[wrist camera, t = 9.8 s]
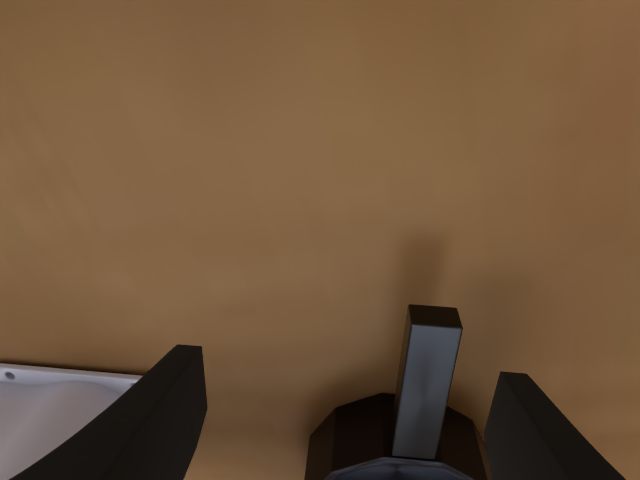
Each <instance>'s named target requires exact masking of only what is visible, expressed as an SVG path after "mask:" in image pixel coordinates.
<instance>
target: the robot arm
mask: <svg viewBox="0 0 640 480" xmlns="http://www.w3.org/2000/svg"><path fill="white" fill-rule="evenodd" d="M206 412H207V397H206V387H205V376H204V365H203V354H202V346H190V345H176V346H175V347H174V348H173V349H172V350H171V351H169V352H168V353H167V354H166V355H165V356H164V357H163V358H162V359H161V360H160V361H159V362H158V363H157V364H155V365H154V366H153V367H152V368H151V369H150V370H149V371H148V372H147V373H146V374H145V375H144V376H140V375H128V374H117V373H106V372H94V371H83V370H72V369H60V368H49V367H38V366H26V365H15V364H3V363H0V480H183V479H184V477H185V474H186V472H187V469H188V467H189V464H190V462H191V460H192V457H193V455H194V452H195V450H196V447H197V444H198V440H199V437H200V433H201V430H202V426H203V423H204V419H205V415H206ZM484 437H485V443H486V450H487V456H488V461H489V467H490V472H491V477H492V480H626V479H625V478H624V477H623V476H622V475H621V474H620V473H619V472H618V471H617V470H616V469H614V468H613V467H612V466H611V465H610V464H609V463H608V462H607V461H606V460H605V459H604V457H603V456H602V455H601V454H600V453H599V452H598V451H597V450H596V449H595V448H594V447H593V446H592V445H591V444H590V443H589V442H588V441H587V440H586V439H585V438H584V437H583V436H582V435H581V433H580V432H579V431H578V430H577V429H576V428H575V427H574V426H573V425H572V424H571V423H570V421H569V420H568V419H567V418H566V417H565V416H564V415H563V414H562V413H561V411H560V410H559V409H558V408H557V407H556V406H555V405H554V404H553V403H552V401H551V400H550V399H549V398H548V397H547V396H546V395H545V393H544V392H543V391H542V390H541V389H540V388H539V387H538V386H537V384H536V383H535V382H534V381H533V380H532V379H531V378H530V377H529V376H528V375H527V374H524V373H512V372H500V375H499V379H498V383H497V386H496V390H495V394H494V397H493V401H492V405H491V409H490V412H489V416H488V420H487V424H486V427H485V431H484Z"/></svg>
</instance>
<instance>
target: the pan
mask: <svg viewBox="0 0 640 480" xmlns="http://www.w3.org/2000/svg"><path fill="white" fill-rule="evenodd" d="M462 330H463V327H462V324H461V320H460V317H459V314H458V310H457V308H452V307H439V306H426V305H413V304H409V305H408V311H407V317H406V324H405V331H404V338H403V345H402V352H401V359H400V365H399V372H398V379H397V386H396V393H395V394H383V393H380V394H377V395H374V396H371V397H368V398H365V399H362V400H359V401H356V402H352V403H349V404H346V405H343V406H340V407H337V408H335V409H334V410H333V411H332V413H331V414H330V415H329V416H328V417H327V418H326V419H325V420H324V421H323V422H322V423H321V425H320V426H319V427H318V428H317V429H316V430H315V431H314V432H313V433H312V434H311V435H310V439H309V447H308V455H307V463H306V471H305V479H304V480H492V477H491V472H490V467H489V461H488V456H487V450H486V446H485V444H484V442H483V440H482V438H481V436H480V434H479V432H478V430H477V428H476V426H475V425H474V423H473V421H472V420H471V419H469V418H467V417H465V416H464V415H462V414H460V413H458V412H456V411H455V410H453V409H451V408H449V407H448V406H447V401H448V396H449V391H450V387H451V382H452V377H453V373H454V368H455V363H456V359H457V354H458V349H459V345H460V340H461V335H462Z"/></svg>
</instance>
